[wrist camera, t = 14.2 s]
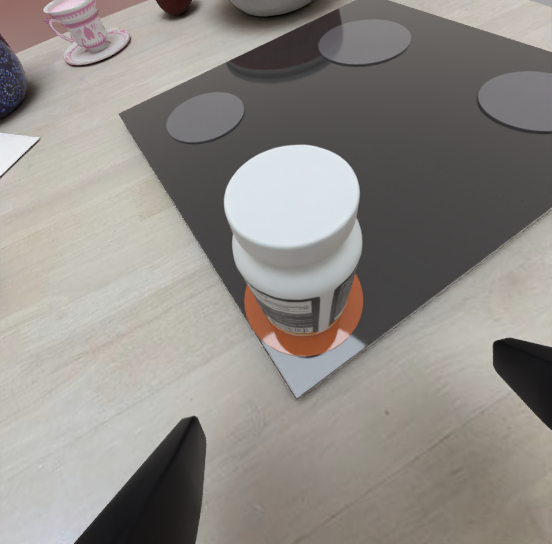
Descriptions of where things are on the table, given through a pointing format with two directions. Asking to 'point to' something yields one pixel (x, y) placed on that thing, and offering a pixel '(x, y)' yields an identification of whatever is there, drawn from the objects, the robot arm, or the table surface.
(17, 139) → the coaster
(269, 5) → the bowl
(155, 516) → the robot arm
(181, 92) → the hob
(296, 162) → the pill bottle
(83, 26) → the teacup
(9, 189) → the table surface
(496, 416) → the table surface
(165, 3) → the potato
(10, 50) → the planter
